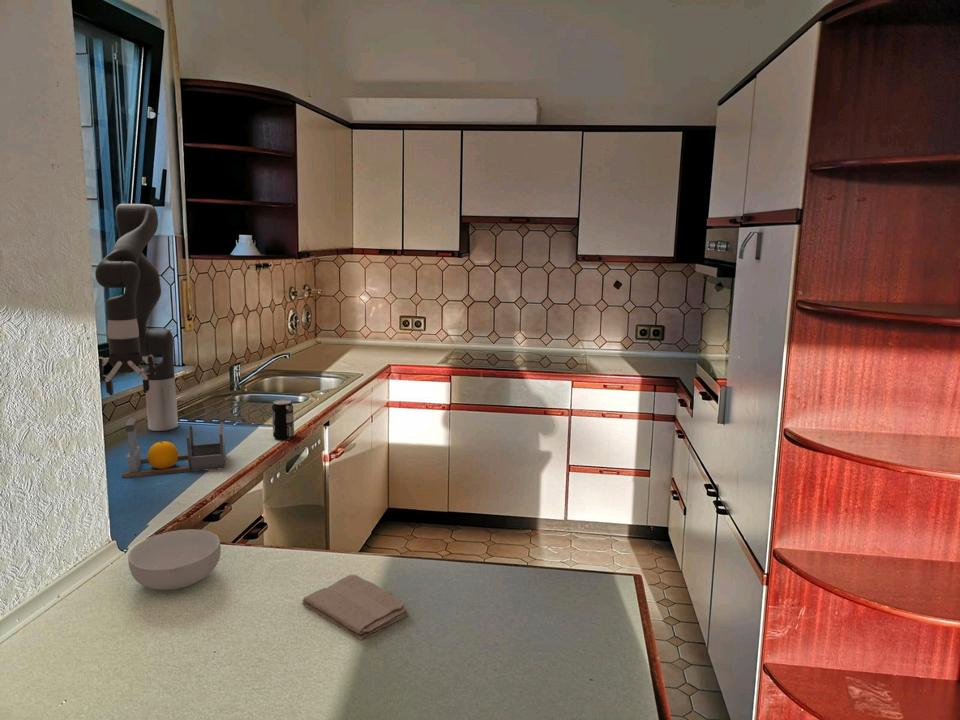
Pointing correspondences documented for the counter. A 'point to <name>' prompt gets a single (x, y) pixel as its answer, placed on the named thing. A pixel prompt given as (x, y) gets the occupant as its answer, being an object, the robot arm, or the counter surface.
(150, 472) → the rails
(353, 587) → the washcloth
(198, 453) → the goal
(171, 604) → the counter surface
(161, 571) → the cereal bowl
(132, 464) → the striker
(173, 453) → the orange
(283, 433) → the beverage can
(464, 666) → the counter surface
